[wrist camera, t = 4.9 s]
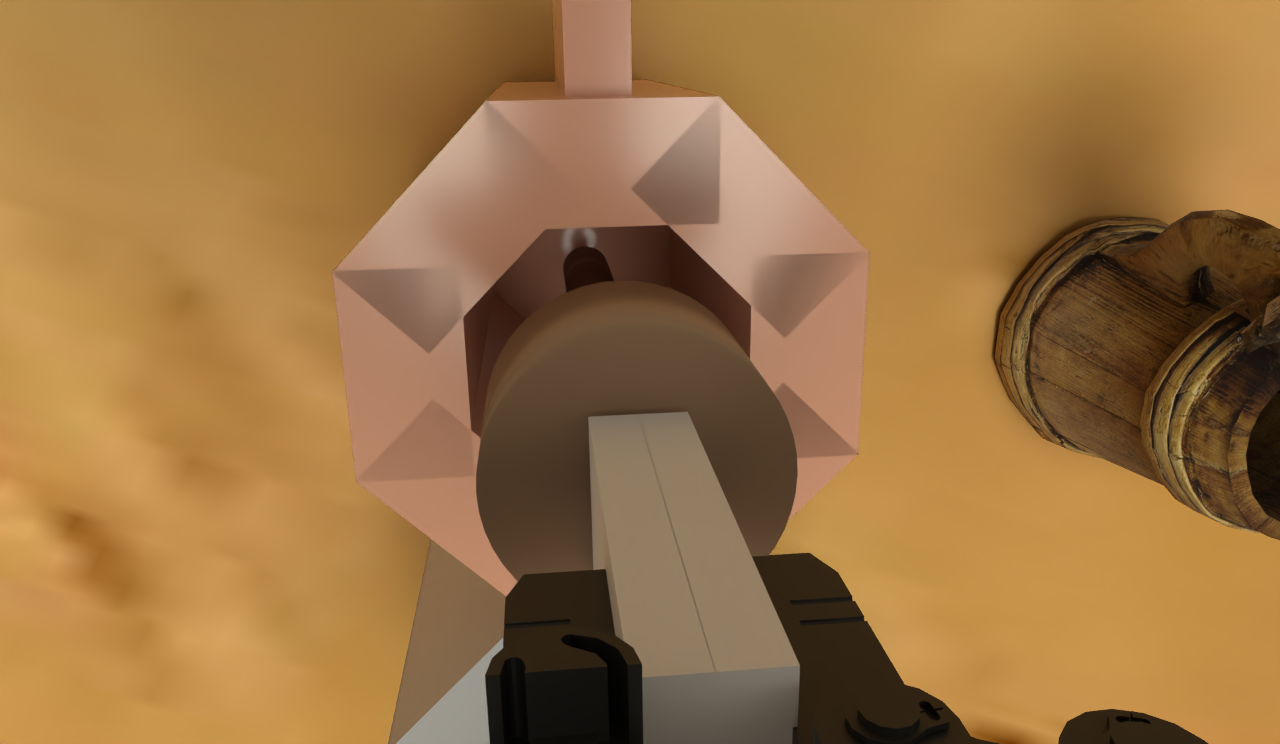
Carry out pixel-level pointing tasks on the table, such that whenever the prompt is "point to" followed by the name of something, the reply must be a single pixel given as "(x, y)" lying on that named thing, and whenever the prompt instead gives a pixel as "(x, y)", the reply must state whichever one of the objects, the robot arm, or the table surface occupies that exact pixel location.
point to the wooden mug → (1159, 356)
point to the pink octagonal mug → (634, 249)
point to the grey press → (449, 656)
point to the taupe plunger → (620, 385)
